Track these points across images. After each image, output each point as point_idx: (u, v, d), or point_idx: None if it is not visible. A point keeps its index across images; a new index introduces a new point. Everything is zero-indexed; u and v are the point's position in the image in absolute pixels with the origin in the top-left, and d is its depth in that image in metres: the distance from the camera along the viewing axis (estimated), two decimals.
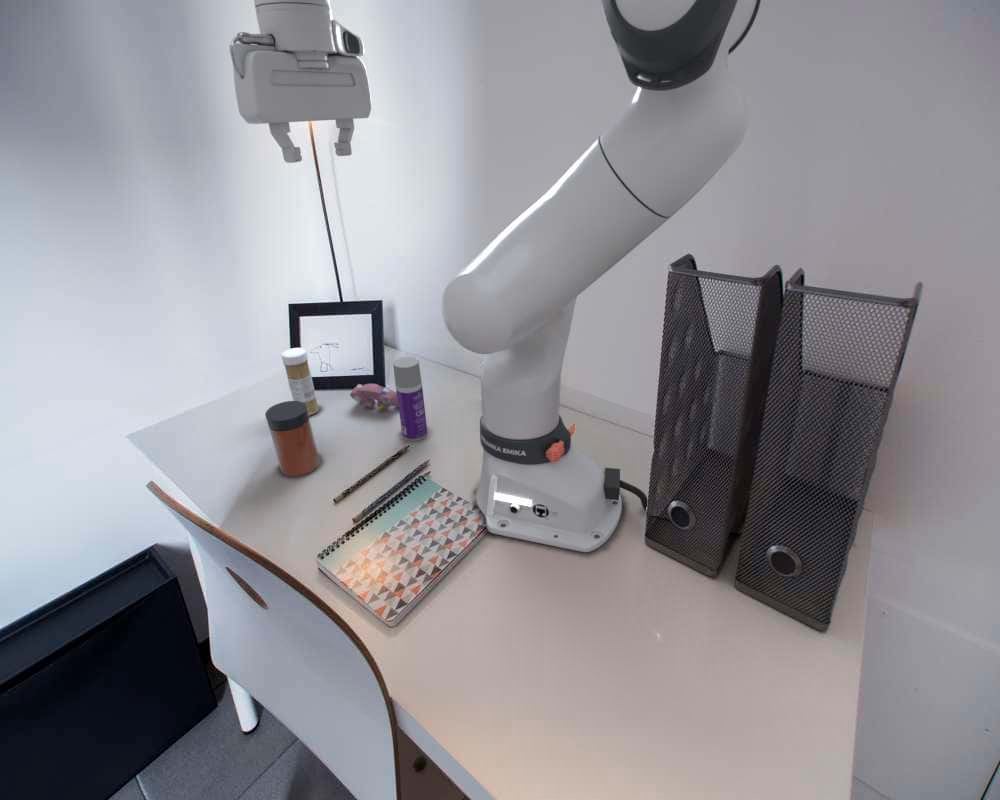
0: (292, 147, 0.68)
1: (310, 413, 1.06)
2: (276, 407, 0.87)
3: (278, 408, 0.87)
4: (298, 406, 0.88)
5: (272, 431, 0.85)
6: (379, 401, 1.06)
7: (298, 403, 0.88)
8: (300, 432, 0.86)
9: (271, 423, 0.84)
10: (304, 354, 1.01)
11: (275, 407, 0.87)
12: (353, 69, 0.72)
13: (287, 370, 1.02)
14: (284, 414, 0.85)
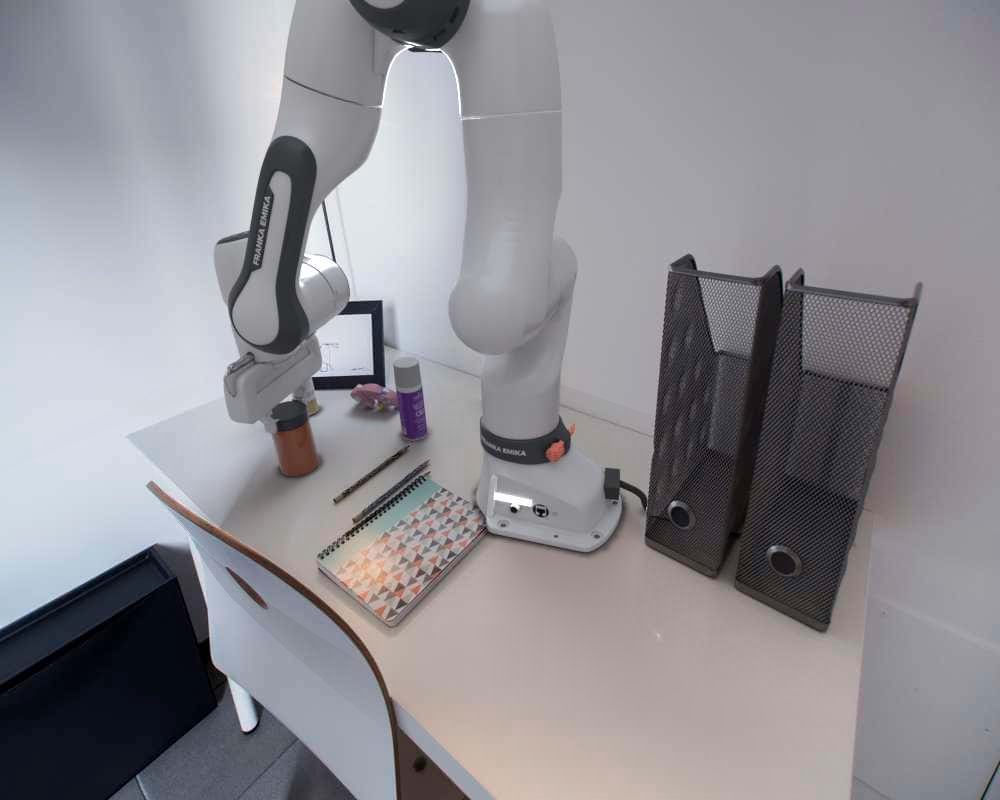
0: (274, 423, 0.83)
1: (310, 413, 1.06)
2: (276, 407, 0.87)
3: (278, 408, 0.87)
4: (298, 406, 0.88)
5: None
6: (379, 401, 1.06)
7: (297, 403, 0.88)
8: (300, 432, 0.86)
9: None
10: None
11: (275, 407, 0.87)
12: (309, 343, 0.88)
13: None
14: (284, 414, 0.85)
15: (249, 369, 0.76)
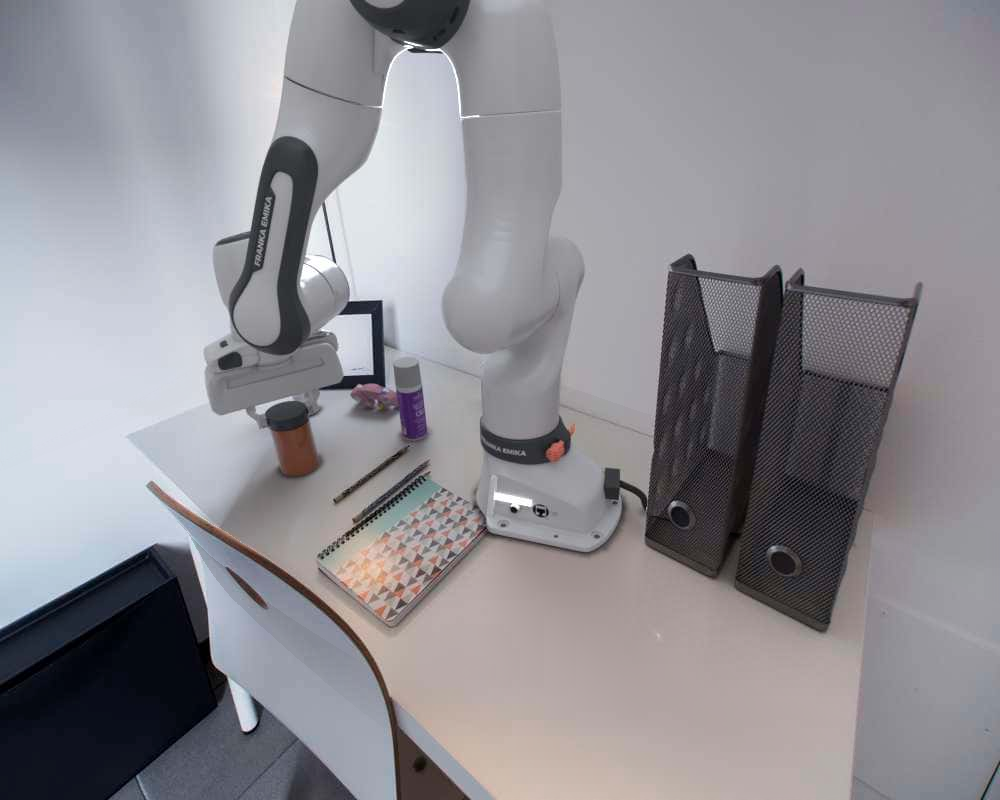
0: None
1: None
2: (285, 416, 0.85)
3: (285, 415, 0.85)
4: (274, 409, 0.87)
5: (272, 431, 0.85)
6: (379, 401, 1.06)
7: (269, 412, 0.86)
8: (300, 432, 0.86)
9: (306, 410, 0.88)
10: None
11: (285, 417, 0.84)
12: None
13: None
14: (292, 406, 0.87)
15: None
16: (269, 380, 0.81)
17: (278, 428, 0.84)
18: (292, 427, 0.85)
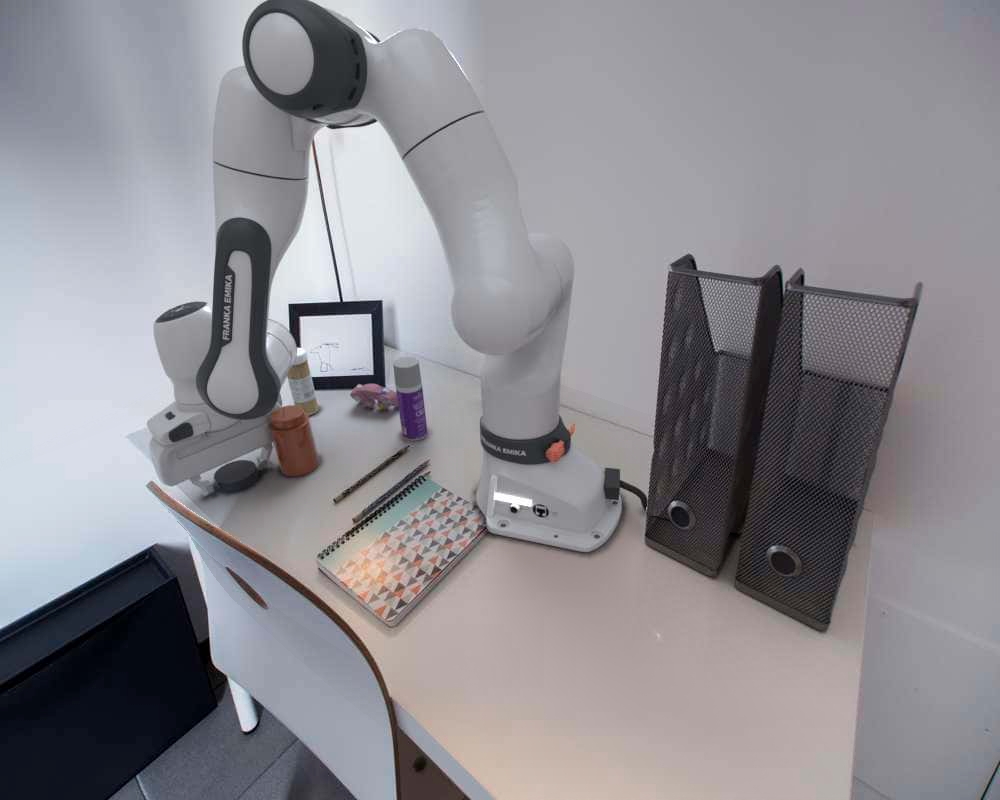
0: None
1: (310, 413, 1.06)
2: (237, 478, 0.86)
3: (237, 476, 0.87)
4: (222, 472, 0.88)
5: (272, 431, 0.85)
6: (379, 401, 1.06)
7: (218, 476, 0.87)
8: (300, 432, 0.86)
9: (256, 468, 0.89)
10: (304, 354, 1.01)
11: (237, 478, 0.86)
12: None
13: None
14: (241, 466, 0.89)
15: None
16: (219, 444, 0.82)
17: (231, 490, 0.86)
18: (245, 487, 0.87)
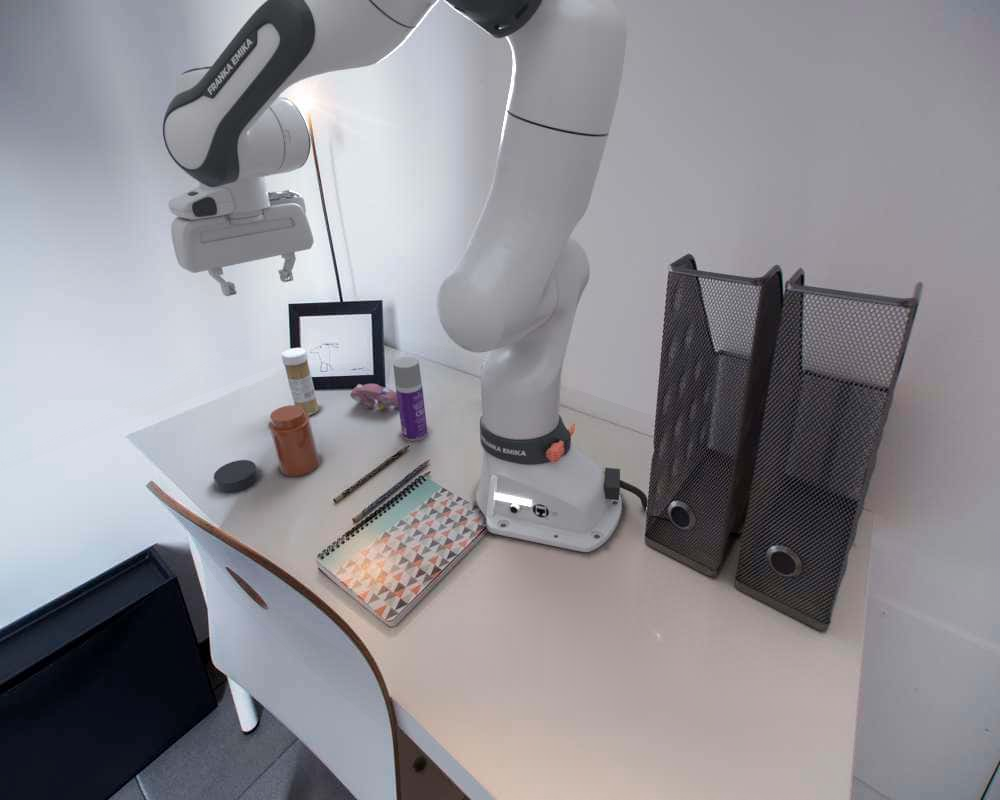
0: None
1: (310, 413, 1.06)
2: (237, 478, 0.86)
3: (237, 476, 0.87)
4: (222, 472, 0.88)
5: (272, 431, 0.85)
6: (379, 401, 1.06)
7: (218, 476, 0.87)
8: (300, 432, 0.86)
9: (256, 468, 0.89)
10: (304, 354, 1.01)
11: (237, 478, 0.86)
12: None
13: (287, 370, 1.02)
14: (241, 466, 0.89)
15: None
16: (242, 237, 0.79)
17: (231, 490, 0.86)
18: (245, 487, 0.87)
